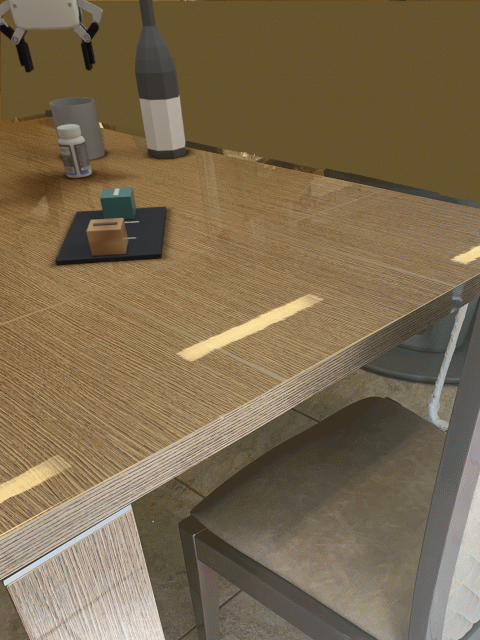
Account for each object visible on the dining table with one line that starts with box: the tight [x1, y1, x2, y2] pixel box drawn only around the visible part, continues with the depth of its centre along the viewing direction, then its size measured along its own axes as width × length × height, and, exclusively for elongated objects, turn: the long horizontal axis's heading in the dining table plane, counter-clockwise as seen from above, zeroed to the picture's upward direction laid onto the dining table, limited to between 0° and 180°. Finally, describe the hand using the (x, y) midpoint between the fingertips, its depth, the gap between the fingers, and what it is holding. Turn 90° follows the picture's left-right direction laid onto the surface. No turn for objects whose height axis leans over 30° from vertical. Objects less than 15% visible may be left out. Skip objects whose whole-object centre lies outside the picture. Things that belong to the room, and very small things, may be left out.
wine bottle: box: [134, 0, 187, 160], centre depth 123 cm, size 8×8×30 cm
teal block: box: [99, 186, 137, 220], centre depth 100 cm, size 4×4×4 cm
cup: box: [49, 96, 106, 161], centre depth 128 cm, size 8×8×10 cm
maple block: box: [86, 218, 128, 256], centre depth 89 cm, size 4×4×4 cm
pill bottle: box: [56, 124, 93, 179], centre depth 118 cm, size 5×5×8 cm
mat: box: [55, 206, 167, 266], centre depth 95 cm, size 14×20×1 cm
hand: (60, 70), depth 107 cm, fingers open, 9 cm apart
